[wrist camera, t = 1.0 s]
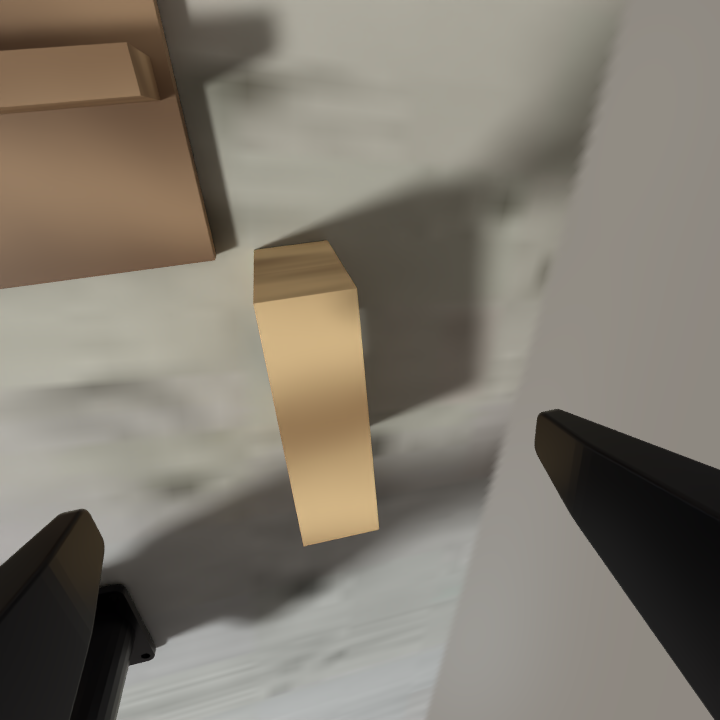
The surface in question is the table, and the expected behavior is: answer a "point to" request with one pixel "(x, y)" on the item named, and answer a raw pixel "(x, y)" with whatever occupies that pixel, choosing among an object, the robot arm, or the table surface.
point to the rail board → (92, 145)
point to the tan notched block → (318, 386)
